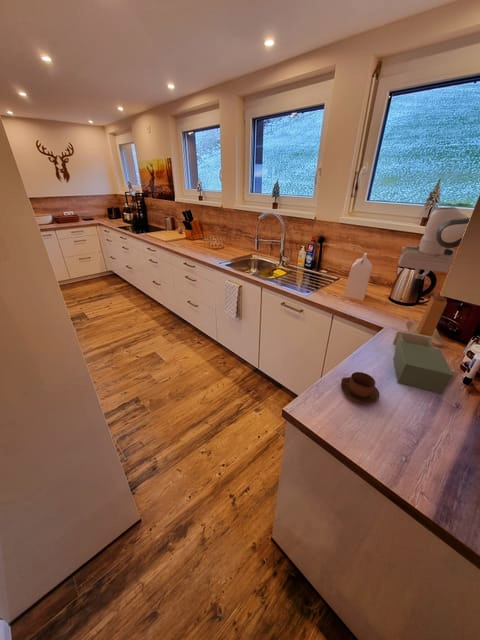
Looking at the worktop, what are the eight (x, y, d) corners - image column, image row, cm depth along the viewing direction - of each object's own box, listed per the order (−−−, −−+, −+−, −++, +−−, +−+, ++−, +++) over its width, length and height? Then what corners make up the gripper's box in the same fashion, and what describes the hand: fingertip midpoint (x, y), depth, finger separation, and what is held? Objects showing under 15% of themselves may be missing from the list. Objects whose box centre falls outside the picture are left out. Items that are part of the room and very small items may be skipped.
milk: (362, 300, 156) (375, 257, 144) (343, 296, 161) (353, 254, 149) (365, 294, 166) (377, 253, 153) (346, 290, 170) (356, 250, 158)
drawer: (391, 338, 118) (396, 325, 115) (422, 344, 114) (428, 331, 111) (396, 362, 103) (402, 347, 99) (432, 370, 99) (440, 355, 96)
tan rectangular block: (429, 331, 124) (446, 292, 115) (431, 336, 120) (450, 296, 111) (417, 328, 126) (433, 290, 116) (419, 333, 122) (436, 294, 112)
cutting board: (433, 329, 129) (434, 326, 128) (443, 348, 114) (445, 345, 114) (406, 323, 133) (407, 321, 132) (412, 341, 118) (413, 339, 117)
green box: (392, 358, 106) (399, 341, 102) (431, 367, 102) (440, 349, 98) (397, 383, 93) (406, 364, 89) (442, 394, 89) (453, 374, 85)
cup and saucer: (347, 406, 83) (351, 392, 80) (334, 380, 93) (338, 367, 90) (384, 407, 83) (390, 393, 80) (368, 381, 93) (372, 367, 91)
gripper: (404, 246, 113) (394, 277, 120) (460, 252, 107) (446, 284, 113) (402, 243, 118) (392, 273, 125) (456, 249, 112) (443, 279, 118)
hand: (418, 278), depth 119 cm, fingers closed
